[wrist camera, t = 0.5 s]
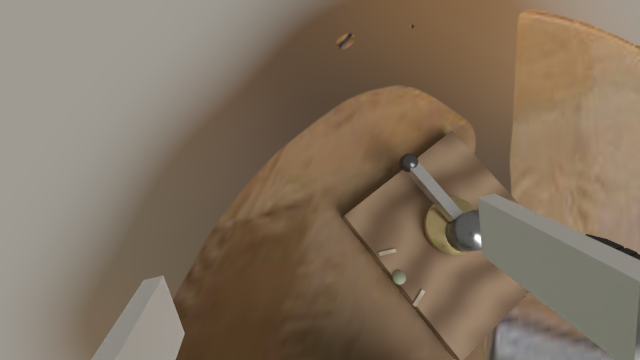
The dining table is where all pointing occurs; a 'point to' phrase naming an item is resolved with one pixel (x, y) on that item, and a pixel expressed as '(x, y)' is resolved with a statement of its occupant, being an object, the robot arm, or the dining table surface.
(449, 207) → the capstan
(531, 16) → the dining table surface
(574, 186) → the dining table surface
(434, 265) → the board
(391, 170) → the dining table surface
